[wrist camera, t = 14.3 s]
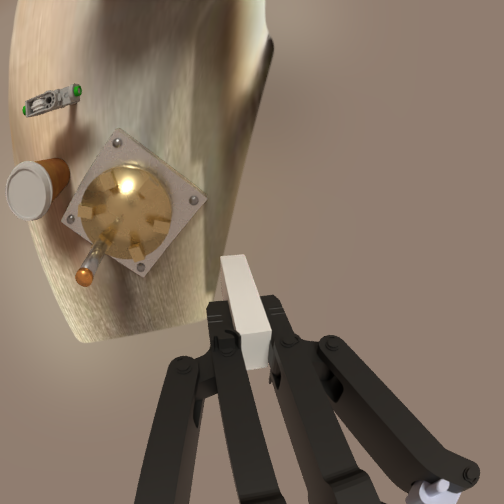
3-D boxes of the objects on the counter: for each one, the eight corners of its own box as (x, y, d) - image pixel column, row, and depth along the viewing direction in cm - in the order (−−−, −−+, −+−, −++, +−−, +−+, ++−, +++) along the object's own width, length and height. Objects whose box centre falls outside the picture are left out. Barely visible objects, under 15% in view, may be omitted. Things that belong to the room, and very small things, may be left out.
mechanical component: (99, 101, 36) (77, 99, 27) (50, 116, 34) (22, 120, 25) (98, 85, 34) (76, 80, 26) (49, 100, 33) (21, 101, 24)
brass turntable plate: (188, 186, 44) (186, 217, 32) (152, 263, 49) (143, 312, 37) (103, 150, 38) (69, 167, 26) (76, 232, 43) (46, 273, 31)
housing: (119, 127, 39) (115, 128, 36) (207, 194, 48) (208, 199, 46) (65, 216, 44) (59, 222, 41) (145, 270, 53) (143, 279, 50)
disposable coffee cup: (60, 208, 43) (32, 235, 32) (29, 178, 38) (-4, 198, 28) (86, 170, 41) (58, 189, 31) (53, 139, 36) (19, 150, 26)
